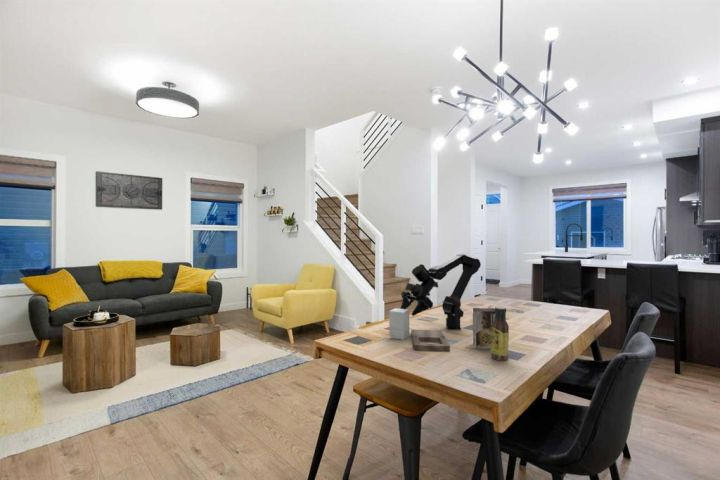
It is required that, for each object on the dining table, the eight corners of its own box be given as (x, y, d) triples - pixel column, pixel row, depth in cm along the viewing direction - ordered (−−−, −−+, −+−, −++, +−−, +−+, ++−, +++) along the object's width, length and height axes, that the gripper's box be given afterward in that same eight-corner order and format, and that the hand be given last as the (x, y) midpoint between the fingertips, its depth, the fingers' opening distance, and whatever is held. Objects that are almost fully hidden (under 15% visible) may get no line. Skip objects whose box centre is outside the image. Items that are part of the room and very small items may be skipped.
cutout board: (441, 334, 171) (441, 330, 171) (449, 351, 147) (449, 346, 147) (411, 333, 172) (411, 329, 172) (414, 350, 148) (414, 345, 148)
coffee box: (493, 344, 155) (494, 307, 155) (498, 349, 149) (498, 311, 149) (472, 344, 156) (472, 307, 156) (475, 348, 150) (475, 310, 149)
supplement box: (409, 336, 168) (410, 309, 168) (403, 340, 162) (403, 312, 161) (395, 333, 172) (395, 307, 171) (388, 337, 165) (388, 310, 165)
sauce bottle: (488, 355, 141) (488, 305, 141) (503, 355, 142) (503, 305, 141) (495, 361, 135) (496, 309, 134) (511, 361, 136) (512, 308, 135)
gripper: (404, 275, 179) (385, 298, 174) (428, 279, 162) (408, 305, 157) (416, 289, 183) (398, 313, 177) (441, 295, 166) (422, 321, 161)
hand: (406, 313), depth 168 cm, fingers open, 9 cm apart
